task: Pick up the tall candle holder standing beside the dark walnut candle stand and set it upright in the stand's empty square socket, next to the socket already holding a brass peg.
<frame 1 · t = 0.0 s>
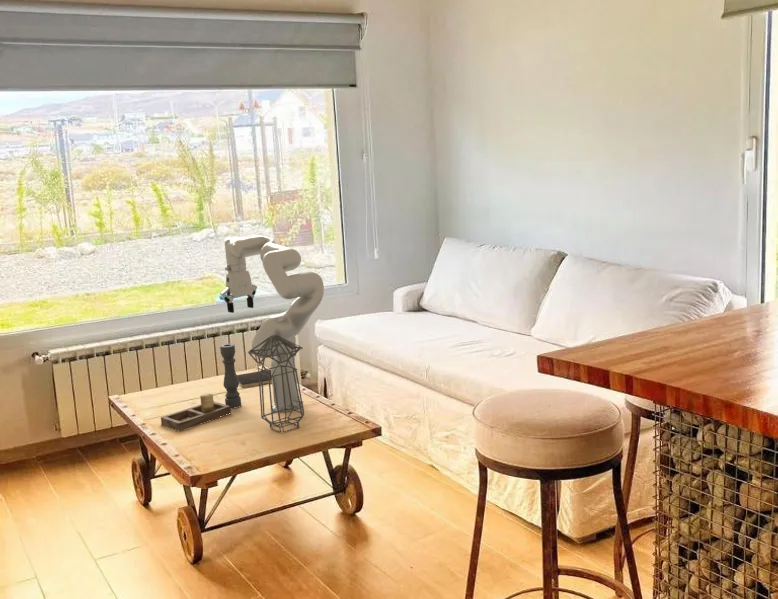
hand: (240, 309, 349), 37 cm above the table, tool pointing down, fingers open, 9 cm apart
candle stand: (196, 419, 333), on the table
geometric lantern: (282, 427, 317), on the table
candle holder: (233, 406, 346), on the table
hardcover book: (264, 380, 382), on the table
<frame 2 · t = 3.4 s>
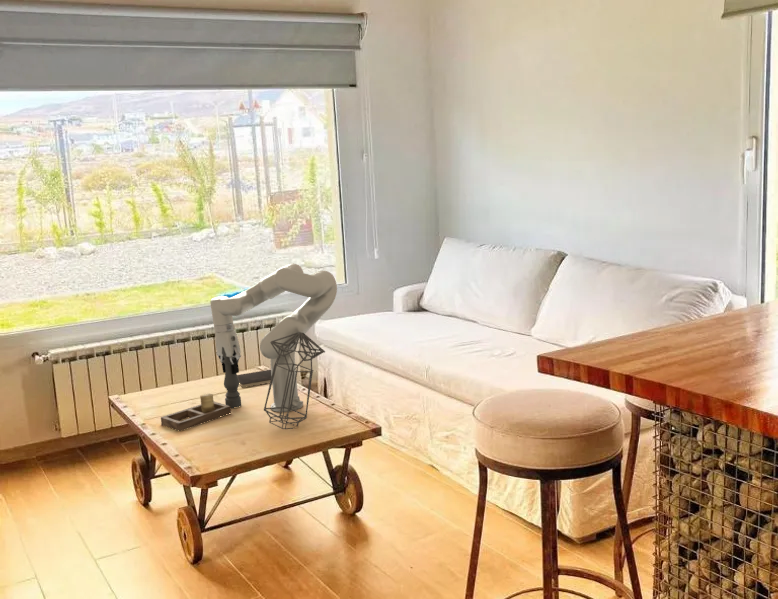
hand: (231, 372, 343), 14 cm above the table, tool pointing down, fingers closed on candle holder, 5 cm apart
geometric lantern: (280, 424, 316), point 1 cm above the table, touching arm
candle holder: (233, 406, 346), on the table, touching gripper
everything else where it was.
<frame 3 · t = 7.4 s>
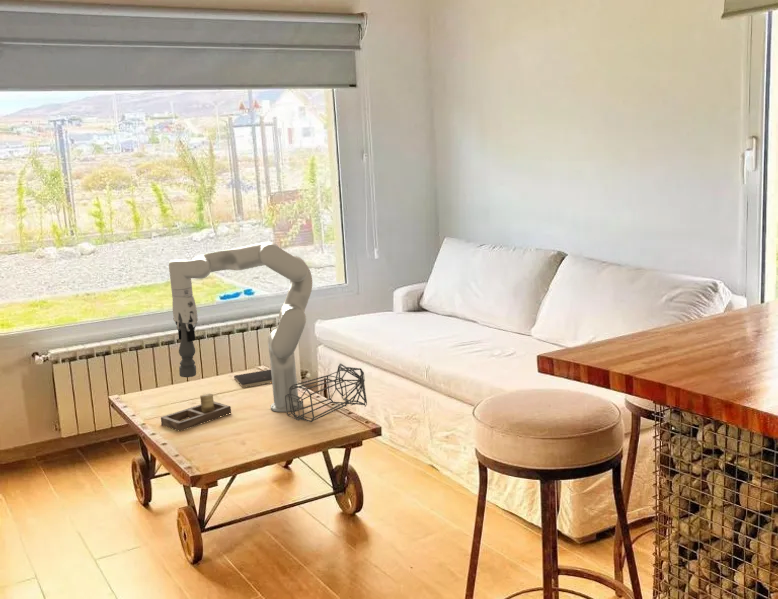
hand: (187, 339, 327), 32 cm above the table, tool pointing down, fingers closed on candle holder, 5 cm apart
geometric lantern: (289, 406, 319), point 7 cm above the table
candle holder: (187, 375, 330), point 17 cm above the table, touching gripper
everything else where it was.
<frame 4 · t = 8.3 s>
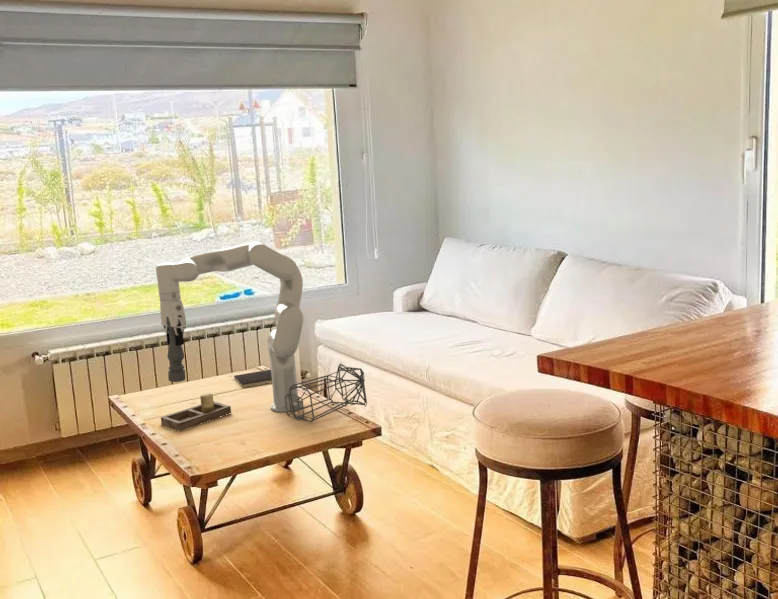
hand: (175, 343, 323), 31 cm above the table, tool pointing down, fingers closed on candle holder, 5 cm apart
candle holder: (177, 379, 326), point 17 cm above the table, touching gripper
everything else where it was.
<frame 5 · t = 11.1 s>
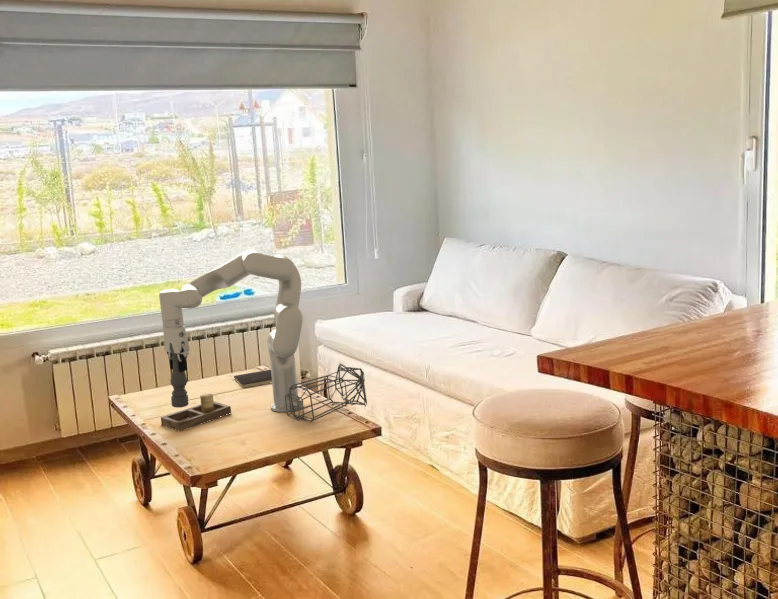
hand: (178, 369, 325), 21 cm above the table, tool pointing down, fingers closed on candle holder, 5 cm apart
candle holder: (180, 405, 328), point 7 cm above the table, touching gripper
everything else where it was.
when the fingers open (16 cm above the table, at t = 13.6 s): candle holder drops 2 cm, resting in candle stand.
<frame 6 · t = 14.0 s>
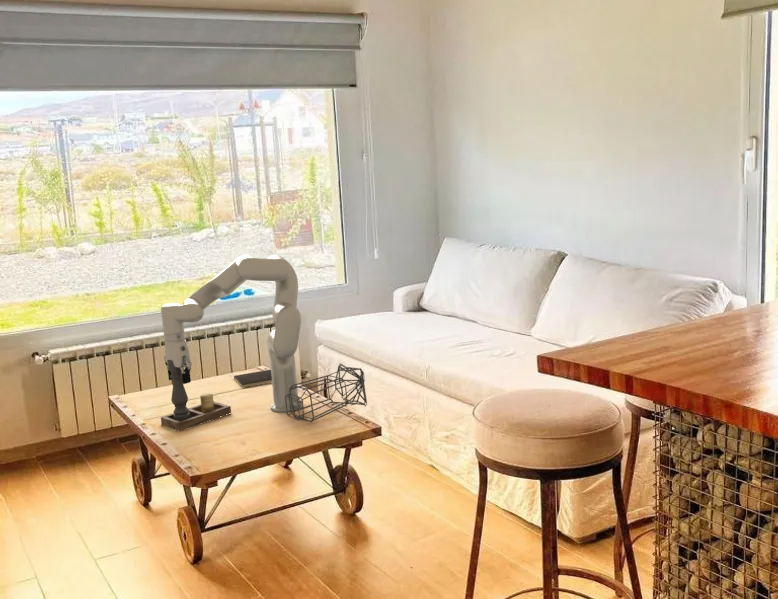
hand: (179, 381, 326), 17 cm above the table, tool pointing down, fingers open, 9 cm apart
candle holder: (182, 423, 330), resting in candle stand
everything else where it was.
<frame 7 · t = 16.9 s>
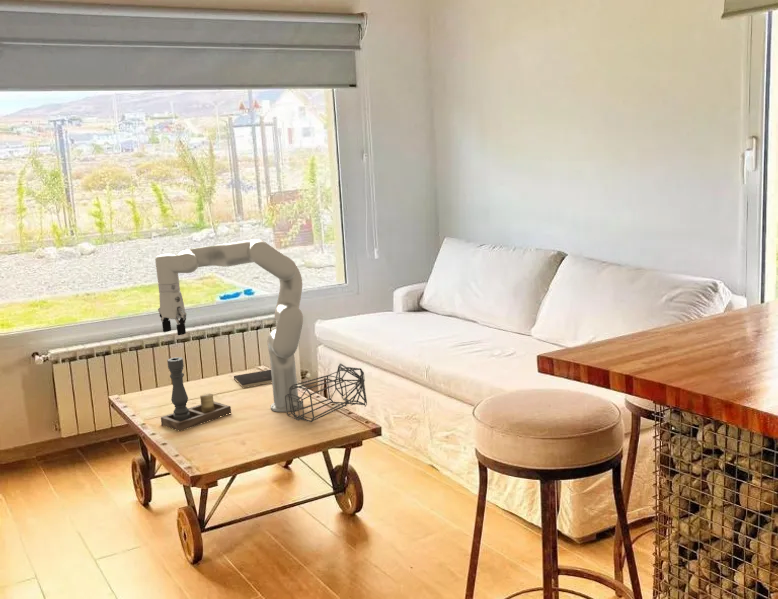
hand: (174, 332, 322), 35 cm above the table, tool pointing down, fingers open, 9 cm apart
nothing on the table moved.
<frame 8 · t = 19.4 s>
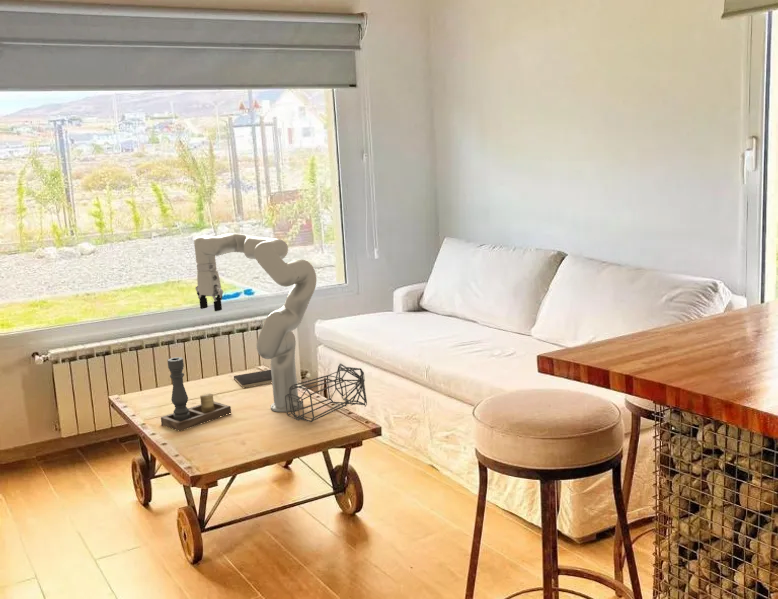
hand: (211, 309, 346), 38 cm above the table, tool pointing down, fingers open, 9 cm apart
nothing on the table moved.
at the end: candle holder 1.4 cm from the target spot on the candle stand, point 0.0 cm above the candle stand's base; candle holder tilted 0°; the gripper is holding nothing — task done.
